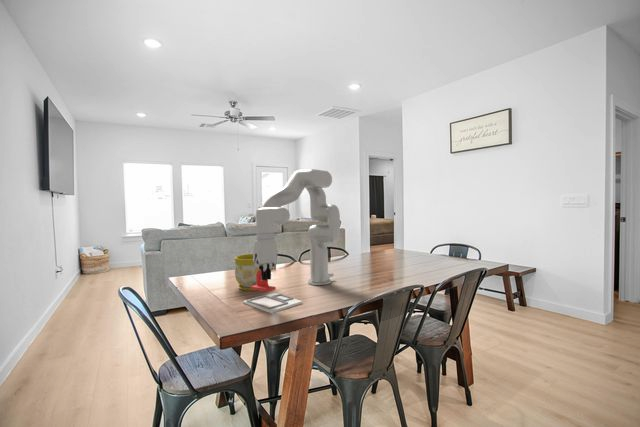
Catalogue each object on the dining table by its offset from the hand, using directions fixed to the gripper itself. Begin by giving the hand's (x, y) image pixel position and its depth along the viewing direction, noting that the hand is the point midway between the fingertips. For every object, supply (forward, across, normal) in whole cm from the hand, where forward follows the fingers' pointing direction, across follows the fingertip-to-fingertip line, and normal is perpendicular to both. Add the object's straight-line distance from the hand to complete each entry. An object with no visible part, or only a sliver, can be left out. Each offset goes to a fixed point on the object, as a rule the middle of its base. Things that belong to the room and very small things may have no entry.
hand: (266, 279), depth 143 cm
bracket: (+4, +2, 0) cm, 5 cm away
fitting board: (+11, -3, 0) cm, 12 cm away
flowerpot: (+11, -13, -29) cm, 34 cm away
